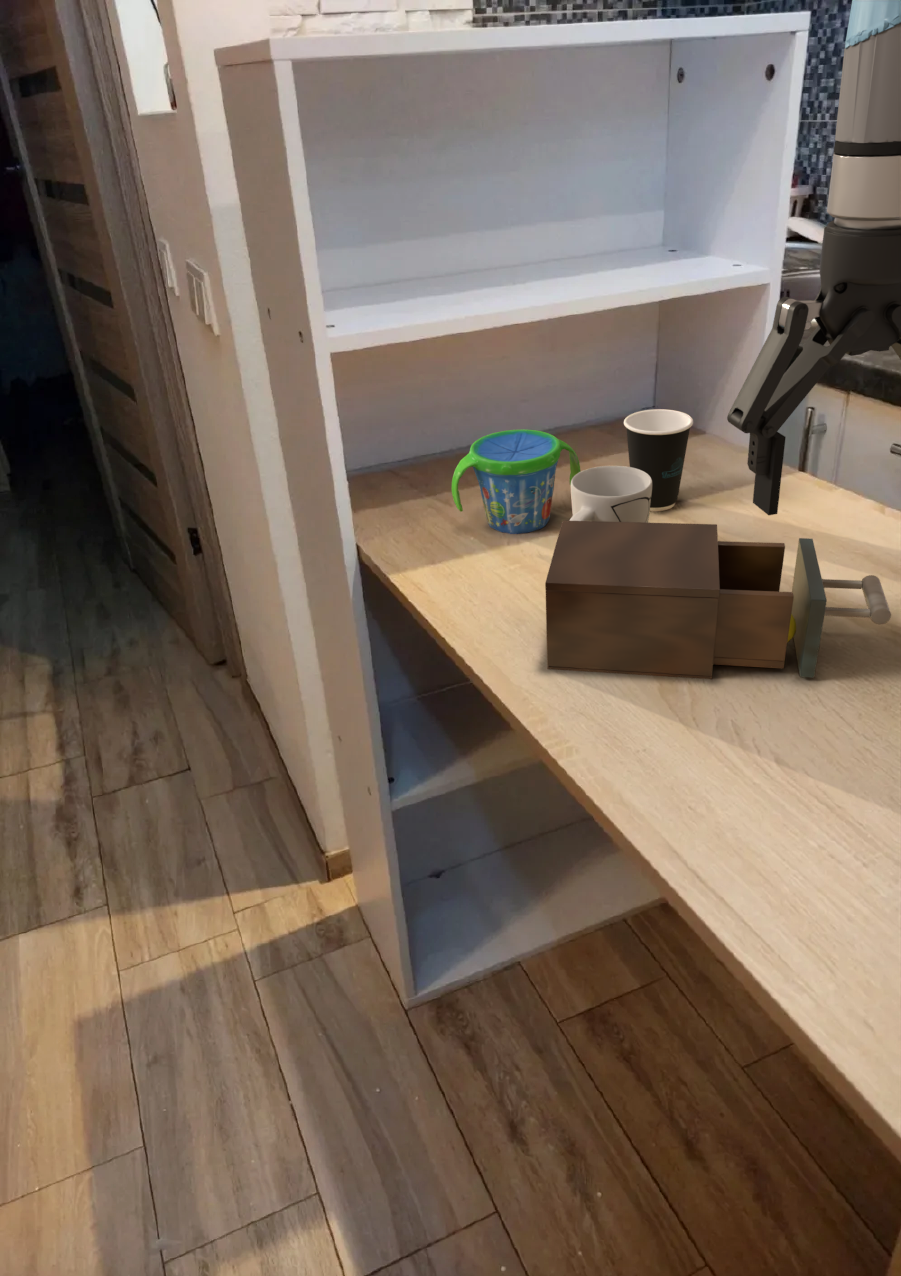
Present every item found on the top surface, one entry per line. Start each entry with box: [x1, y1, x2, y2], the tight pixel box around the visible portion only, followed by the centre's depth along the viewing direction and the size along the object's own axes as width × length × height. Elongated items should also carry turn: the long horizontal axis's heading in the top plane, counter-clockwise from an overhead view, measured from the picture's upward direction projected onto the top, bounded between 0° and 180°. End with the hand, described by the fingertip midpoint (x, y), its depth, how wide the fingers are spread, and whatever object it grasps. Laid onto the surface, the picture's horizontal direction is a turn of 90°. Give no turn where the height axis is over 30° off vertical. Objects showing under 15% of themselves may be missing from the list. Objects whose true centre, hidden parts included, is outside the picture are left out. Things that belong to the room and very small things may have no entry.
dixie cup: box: [623, 408, 694, 512], centre depth 111 cm, size 8×8×11 cm
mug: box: [568, 465, 652, 523], centre depth 99 cm, size 11×8×10 cm
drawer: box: [713, 537, 892, 679], centre depth 84 cm, size 19×11×8 cm, turn 77°
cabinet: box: [544, 520, 720, 680], centre depth 86 cm, size 15×13×10 cm
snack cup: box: [451, 429, 582, 535], centre depth 110 cm, size 16×10×10 cm
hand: (841, 495), depth 77 cm, fingers open, 13 cm apart
